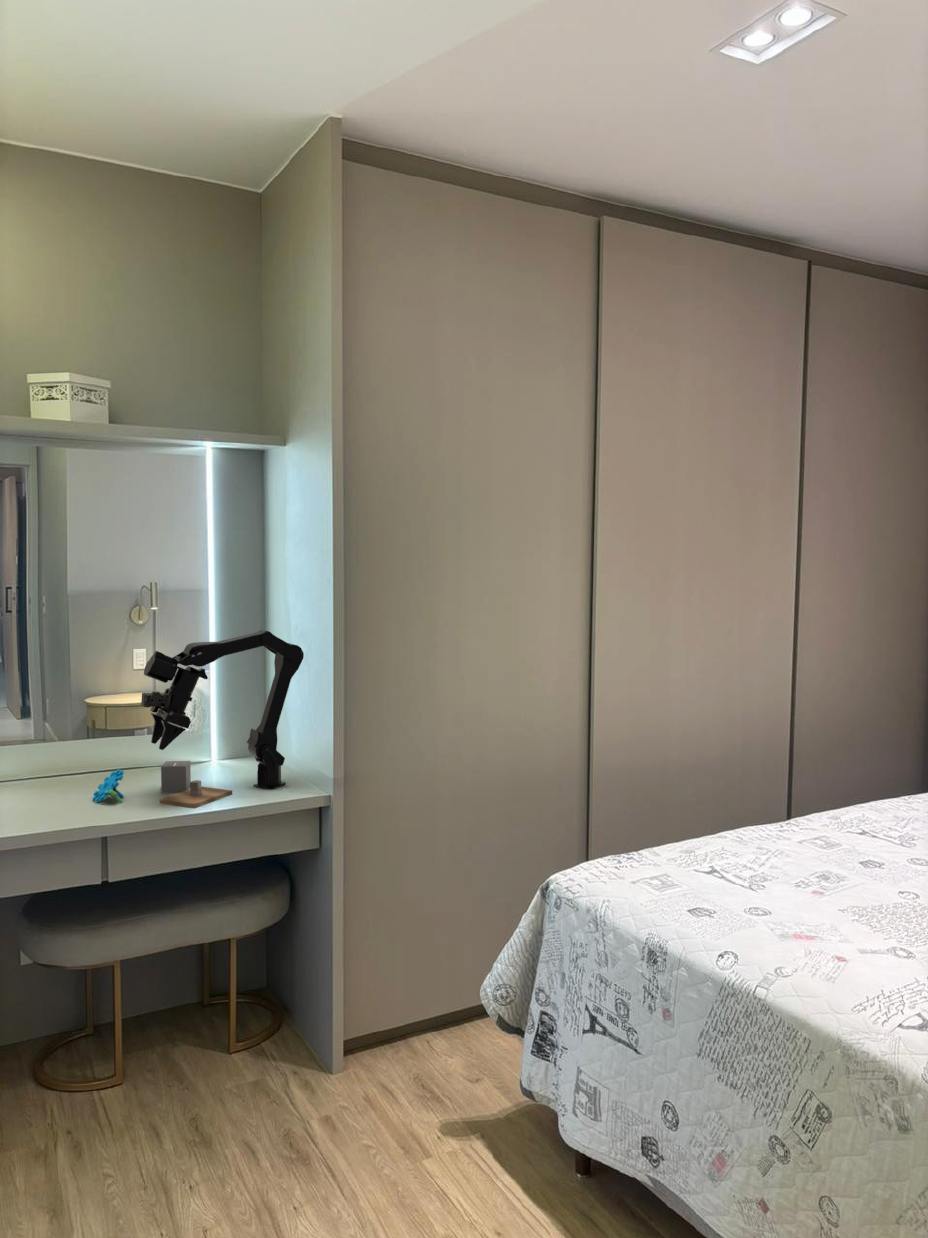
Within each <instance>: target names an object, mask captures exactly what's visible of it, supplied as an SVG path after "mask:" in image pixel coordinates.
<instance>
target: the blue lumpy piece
mask: <svg viewBox="0 0 928 1238" xmlns="http://www.w3.org/2000/svg"><path fill="white" fill-rule="evenodd" d="M124 773H125V771H123V769H119V768H117V770H115V771H111V773H109V774H110V775H109V776H106V777H104V778H103V784H102V783H99V784H98V786H97V788H98V789H99V790H95V791H94V793H93V797H92V799H91V800H92V801H94V802H96V803H100V802H101V801H104V800H106V799H107V796H109V797H110V798H111V799H112V800H114V799H115V800H117V801H118V803H121V804H122V803H124V800H123V798H124V797H125V795H124V794H123V793H122V792H121V791H119V790H118V789H117V787H119V785H120V783H119V782H118V781H122V780H123V779H124V776H123V775H124ZM121 798H122V799H121Z"/></svg>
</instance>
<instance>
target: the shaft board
mask: <svg viewBox="0 0 928 1238" xmlns="http://www.w3.org/2000/svg"><path fill="white" fill-rule="evenodd" d="M231 795H233V790H231V789H225V788H224V789H223V788H218V787H217V788H216V787H208V786H202V780H200V779H199V780H198V779H197V780H192V781H191V782H190V788H189V790H186V791H183V792H180V793H174V794H171V795H169V796H165V797H162V798H160V799H159V804H162V805H163V804H165V805H169V806H177V807H185V808H191V809H196V808H198V807H201V806H205V805H207V804H209V803H212V802H215V801H218V800H221V799H223V798H224V799H225V798H226V797H229V796H231Z"/></svg>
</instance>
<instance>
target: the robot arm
mask: <svg viewBox="0 0 928 1238" xmlns="http://www.w3.org/2000/svg"><path fill="white" fill-rule="evenodd" d="M260 647H264V648H265V649H267V650H268V651H269V652H271V653H272V654H274V664H273V665H274V677H273V680H272V683H271V687H270V690H269V694H268V697H267V700H266V704H265V707H264V711H263V714H262V717H261V721H260V724H259V725H258V726H257V728H256V729H254V728H250V733H249V737H248V739H247V741H246V743H247V749H248V752H249V753H250V754H251V755H252V756H253V757H254V759H255V761H256V762H258V764H257V771H256V772H257V773H256V775H257V777H256V778H257V779H256V781H257V782H256V783H254V784H253V785H252V787H254V788H260V789H267V790H269V789H270V790H275V789H278V788H279V787H281V786H284V785H286V783H287V782H285V781H282V771H281V770H282V766H283V765H284V763H285V759H286V758H285V756H283V755H282V754H281V753H280V752H279V751H278V750H277V749H278V748H277V747H278V725H279V721H280V719H281V715H282V712H283V708H284V704H285V701H286V698H287V695H288V691H289V687H290V684H291V680H292V678H293V677H294V675H295V674H296V673H297V671H298V670H299V668H300V666H301V664H302V661H303V659H304V658H305V657H304V655H305V654H304V653H305V652H304V650H303V649H302V647H300V646H299V645H297V644H293V643H289V642H287V641H285V640H283V639H282V638H280V637H277V636H276V635H275V634H273V633H272V632H271V631H269V630H265V629H261V630H258V631H255V632H252V633H248V634H243V635H239V636H235V637H231V638H228V639H222V640H218V641H199V642H196V641H195V642H191V643H188V644H186V646H185V647H184V648H183V651H181V652H179V653H178V654H175V656H172V657H171V656H169V655H166V654H164V653H162V652H160V651H158V650H155V651H154V653H153V654H152V656H150V658H149V660H147V662H146V664H145V666H144V670H143V675H144V676H146V677H148V678H151V679H152V680H156V681H158V682H162V683H165V684H167V683H168V682H169V681H170V682H171V685H170V686H169V688H168V687H167V688H166V689H165V690H164V692H160V691H153V690H152V691H151V692H142V693H141V700H140V701H141V703H140V705H141V706H142V707H143V708H150V712H151V713H150V714H151V717H152V719H153V728H152V729H153V730H152V735H151V741H150V743H151V744H154V745H155V744H157V743H158V741H159V740H160V743H159V747H158V749H159V750H160V751H164V750H165V749H166V748H167V747H168V746H169V745H170V744H171V743H172V742H173V741H174V740H175V739H176V738H178V737H179V736H180V735H181V734H182V733H183V732H185V731H186V729H189V727H190V725H191V723H192V720H191V719H190V717H189V716H188V715H187V712H185V711H186V709H187V707H188V704H189V702H192V700H193V697H192V695H193V692H194V690H195V688H196V686H197V683H198V681H199V679H200V678H201V679H204V680H208V679H209V677H208V675H207V673H206V669H205V668H203V667H204V666H206V665H209V664H211V663H213V662H215V661H217V660H219V659H221V658H222V657H225V656H230V655H232V654H237V653H240V652H245V651H249V650H253V649H257V648H260ZM178 664H179V665H182V666H184V667H186V668H183V667H180V666H178ZM193 666H195V667H199V669H197V668H194V667H193Z"/></svg>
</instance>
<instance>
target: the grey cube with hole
mask: <svg viewBox="0 0 928 1238" xmlns="http://www.w3.org/2000/svg"><path fill="white" fill-rule="evenodd" d="M160 772H161V773H160V779H161V781H160V783H161V784H160V786H161V787H160V788H161V789H160V790H161V794H167V793H168V794H171V793H174V794H177V793H180V792H183V791H186V790H189V789H190V782H192V781H191V778H192V777H191V776H192V775H191V774H192V773H191V760H167V761H165V762H163V764H162V765H161V766H160Z"/></svg>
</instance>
